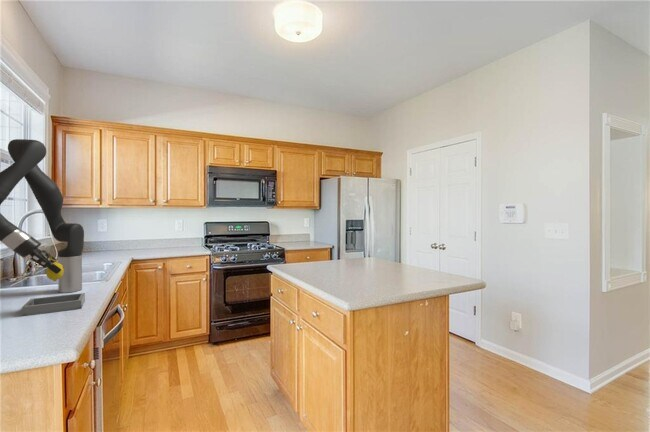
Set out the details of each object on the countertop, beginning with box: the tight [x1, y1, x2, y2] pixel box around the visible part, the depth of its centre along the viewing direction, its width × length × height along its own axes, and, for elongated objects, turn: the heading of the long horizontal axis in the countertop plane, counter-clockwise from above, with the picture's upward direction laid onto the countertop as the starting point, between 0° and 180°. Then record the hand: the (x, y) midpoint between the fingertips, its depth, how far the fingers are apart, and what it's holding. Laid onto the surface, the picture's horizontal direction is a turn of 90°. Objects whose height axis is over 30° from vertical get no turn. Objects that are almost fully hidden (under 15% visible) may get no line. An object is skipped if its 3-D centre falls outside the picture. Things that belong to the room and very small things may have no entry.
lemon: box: [45, 261, 64, 282], centre depth 131 cm, size 6×6×8 cm
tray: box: [21, 292, 86, 317], centre depth 132 cm, size 13×18×3 cm
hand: (60, 270), depth 132 cm, fingers closed on lemon, 5 cm apart
